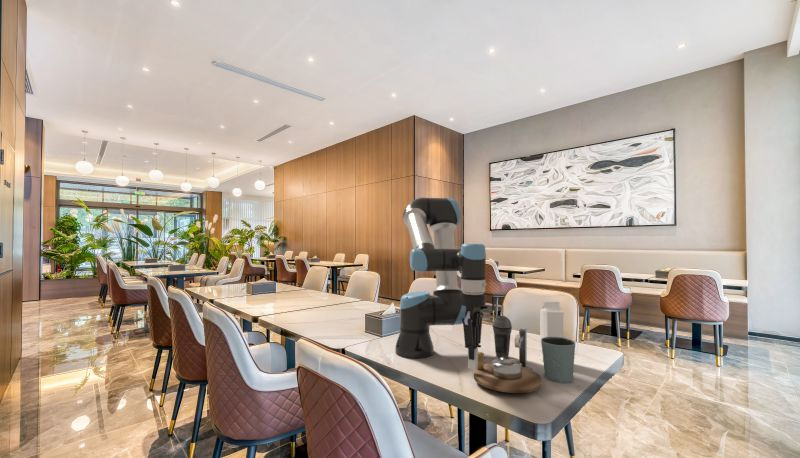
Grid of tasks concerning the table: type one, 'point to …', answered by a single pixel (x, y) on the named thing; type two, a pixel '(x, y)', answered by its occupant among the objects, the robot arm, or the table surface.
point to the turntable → (523, 385)
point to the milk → (551, 322)
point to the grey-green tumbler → (558, 359)
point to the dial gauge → (522, 347)
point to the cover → (506, 368)
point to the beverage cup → (502, 335)
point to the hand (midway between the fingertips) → (472, 368)
